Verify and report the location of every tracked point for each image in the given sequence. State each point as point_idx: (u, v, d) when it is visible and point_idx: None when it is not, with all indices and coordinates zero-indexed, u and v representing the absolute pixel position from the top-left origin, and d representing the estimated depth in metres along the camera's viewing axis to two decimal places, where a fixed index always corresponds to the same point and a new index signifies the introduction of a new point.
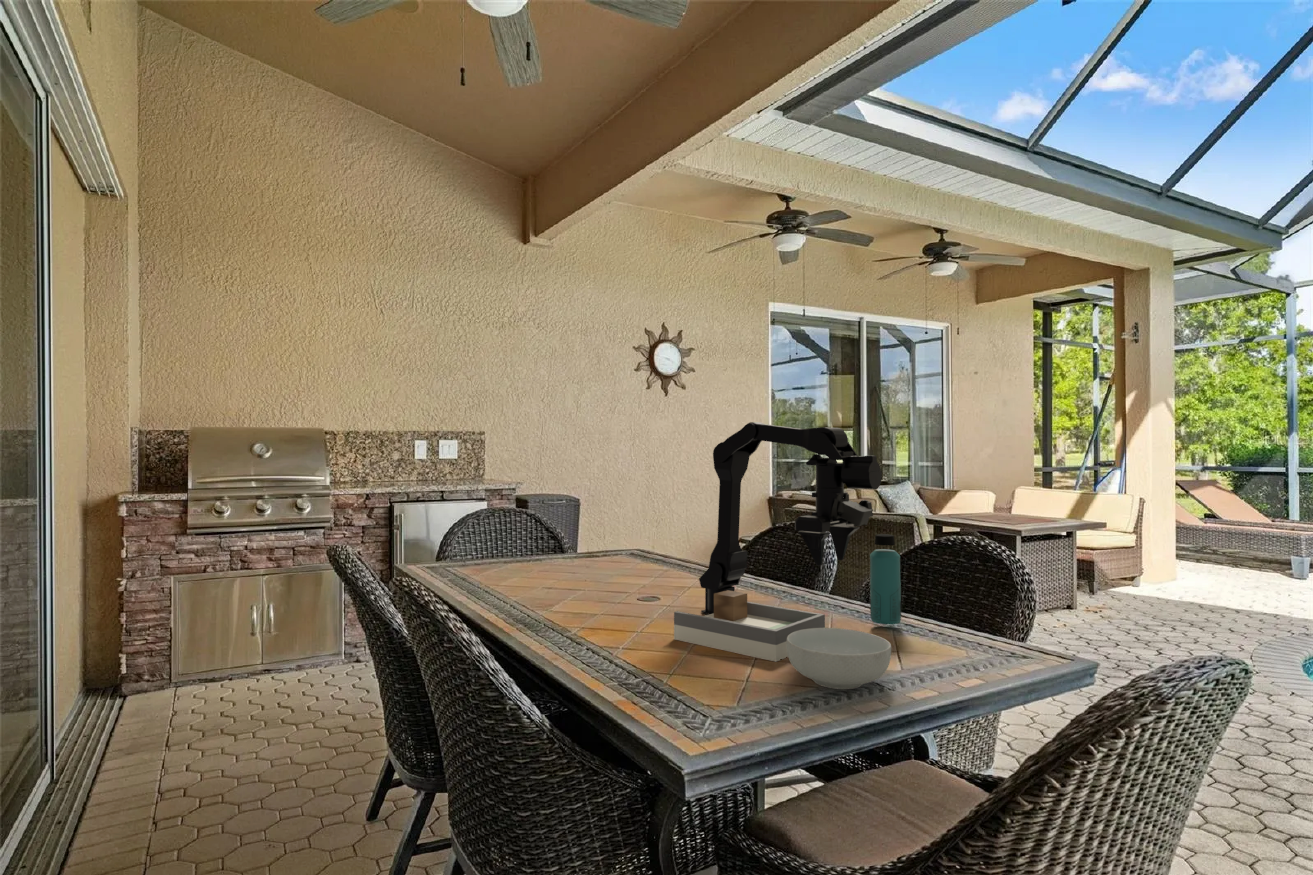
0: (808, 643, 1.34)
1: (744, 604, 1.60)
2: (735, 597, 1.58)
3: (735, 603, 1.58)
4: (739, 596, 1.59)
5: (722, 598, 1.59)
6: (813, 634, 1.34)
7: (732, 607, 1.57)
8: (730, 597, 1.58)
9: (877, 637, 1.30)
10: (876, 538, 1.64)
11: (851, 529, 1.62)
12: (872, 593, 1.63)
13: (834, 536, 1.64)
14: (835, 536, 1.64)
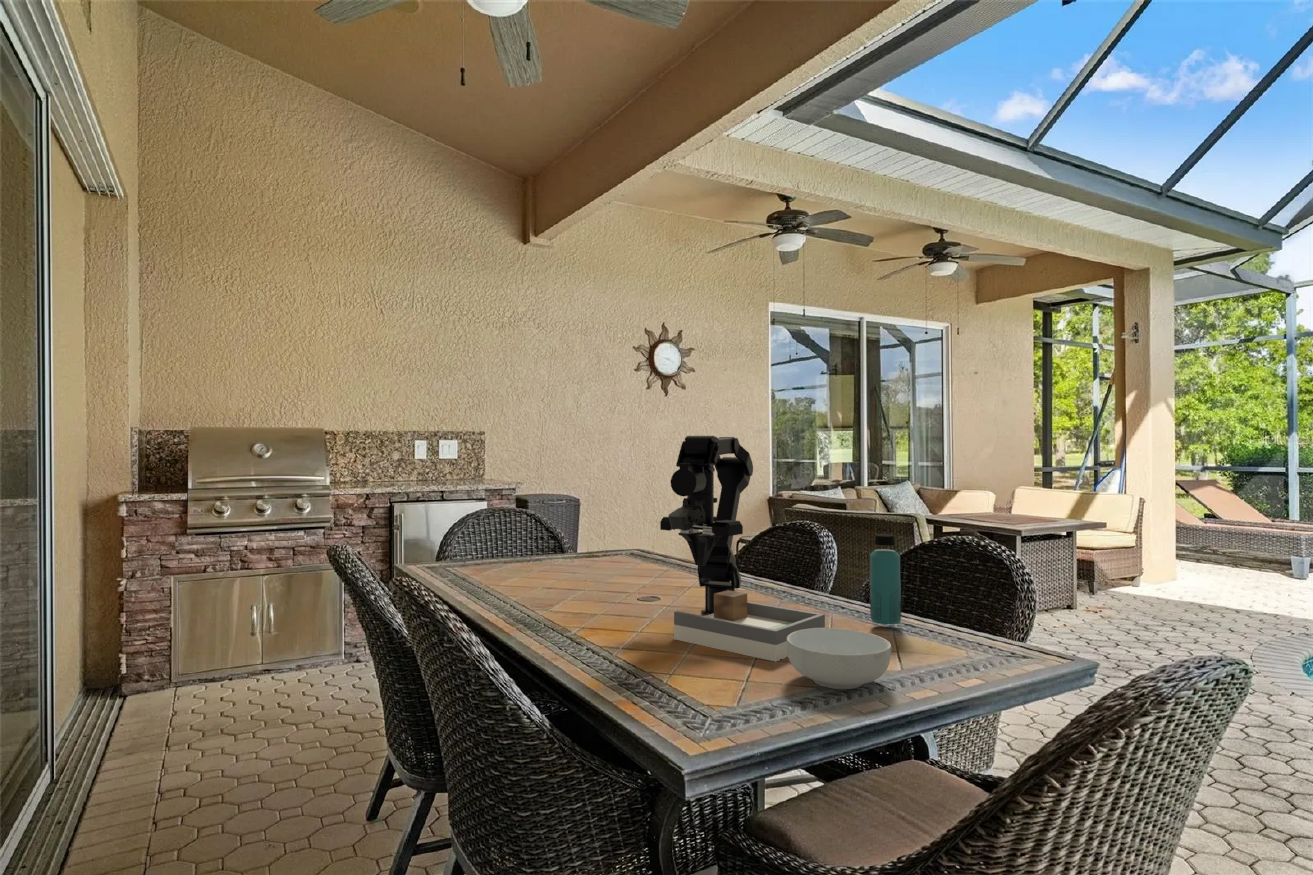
0: (808, 643, 1.34)
1: (744, 604, 1.60)
2: (735, 597, 1.58)
3: (735, 603, 1.58)
4: (739, 596, 1.59)
5: (722, 598, 1.59)
6: (813, 634, 1.34)
7: (732, 607, 1.57)
8: (730, 597, 1.58)
9: (877, 637, 1.30)
10: (876, 538, 1.64)
11: None
12: (872, 593, 1.63)
13: None
14: None
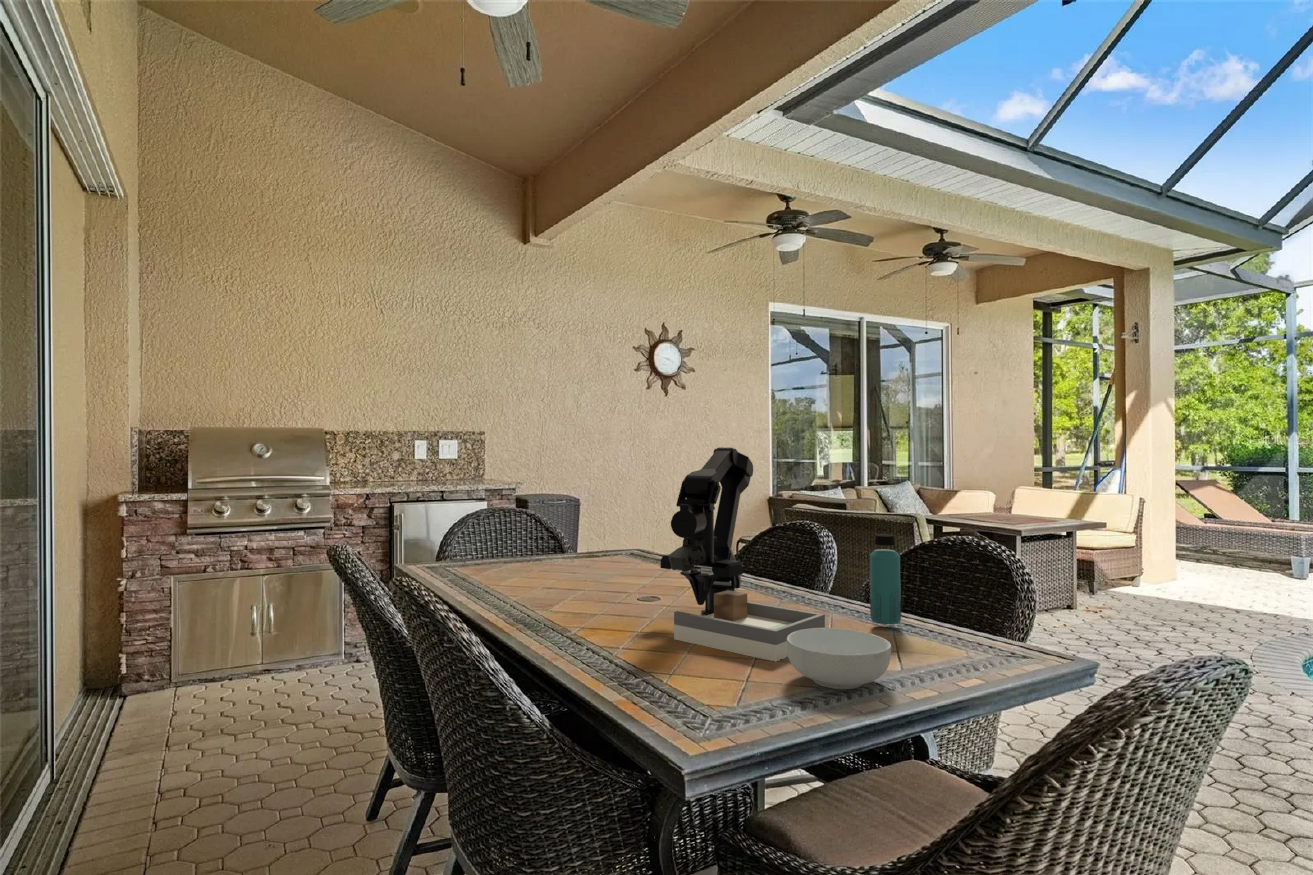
0: (808, 643, 1.34)
1: (744, 604, 1.60)
2: (735, 597, 1.58)
3: (735, 603, 1.58)
4: (739, 596, 1.59)
5: (722, 598, 1.59)
6: (813, 634, 1.34)
7: (732, 607, 1.57)
8: (730, 597, 1.58)
9: (877, 637, 1.30)
10: (876, 538, 1.64)
11: None
12: (872, 593, 1.63)
13: None
14: None
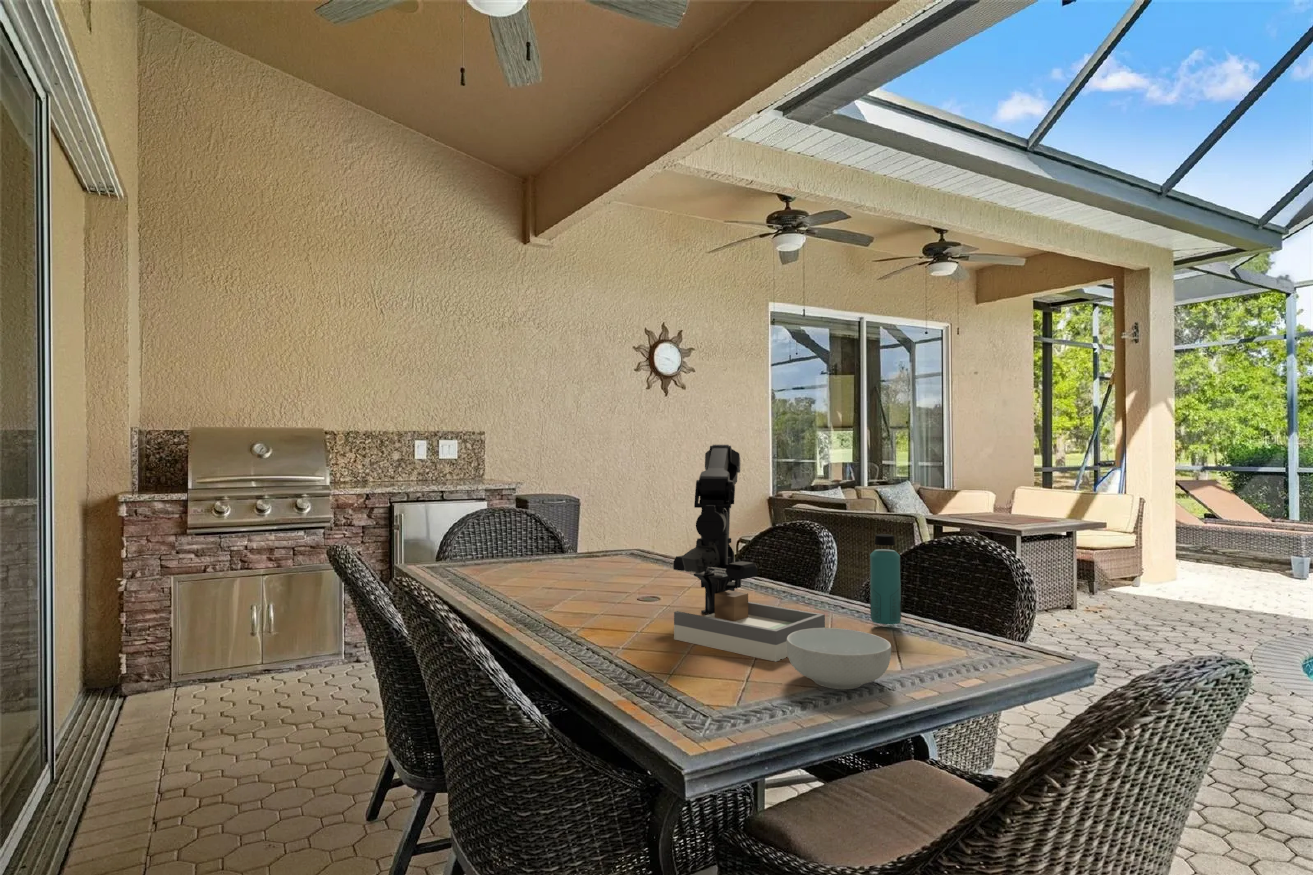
0: (808, 643, 1.34)
1: (745, 604, 1.60)
2: (736, 597, 1.57)
3: (736, 603, 1.57)
4: (740, 596, 1.59)
5: (723, 598, 1.59)
6: (813, 634, 1.34)
7: (733, 607, 1.57)
8: (731, 597, 1.57)
9: (877, 637, 1.30)
10: (876, 538, 1.64)
11: None
12: (872, 593, 1.63)
13: None
14: None
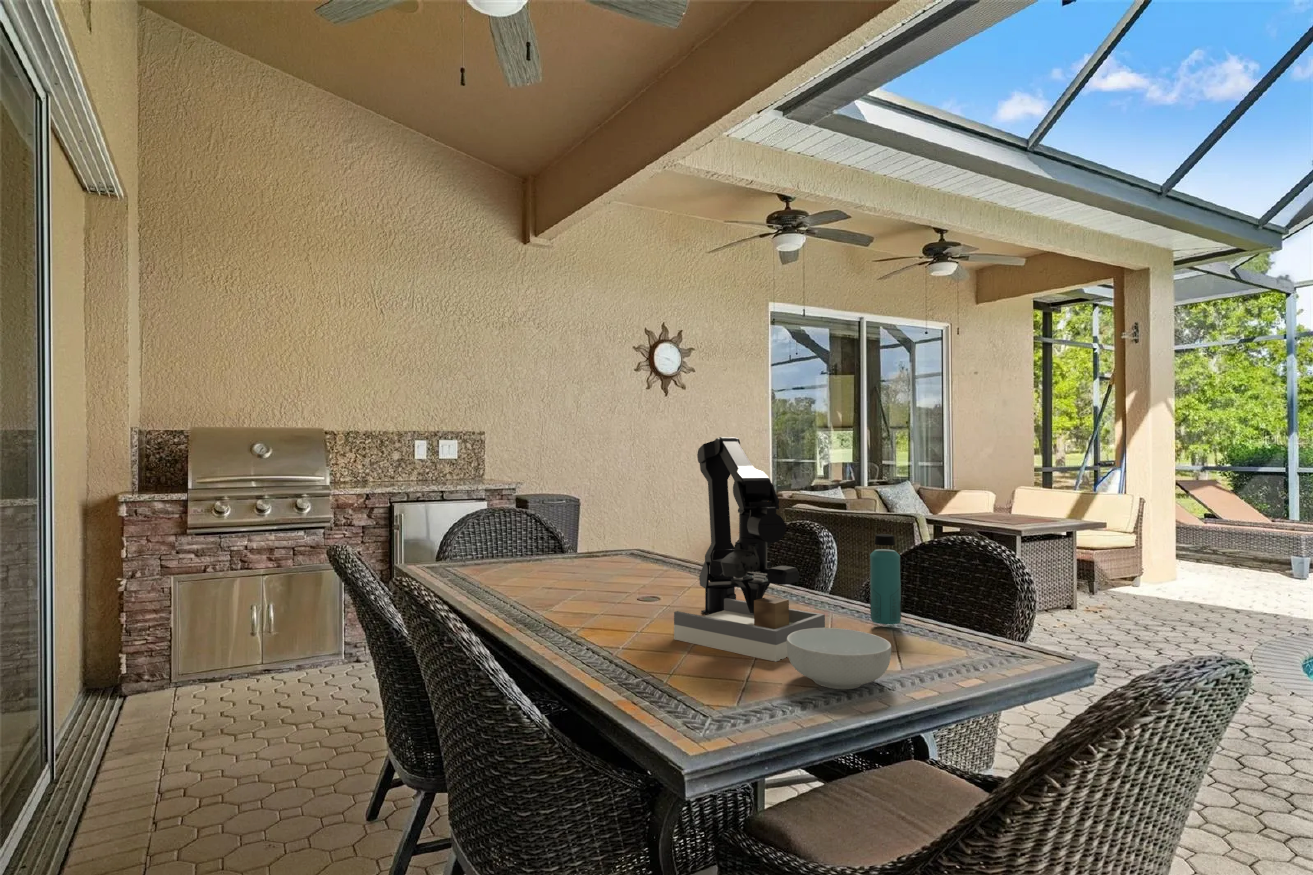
0: (808, 643, 1.34)
1: (786, 611, 1.53)
2: (777, 604, 1.51)
3: (777, 610, 1.51)
4: (781, 603, 1.52)
5: (763, 605, 1.52)
6: (813, 634, 1.34)
7: (774, 614, 1.50)
8: (772, 604, 1.51)
9: (877, 637, 1.30)
10: (876, 538, 1.64)
11: None
12: (872, 593, 1.63)
13: None
14: None
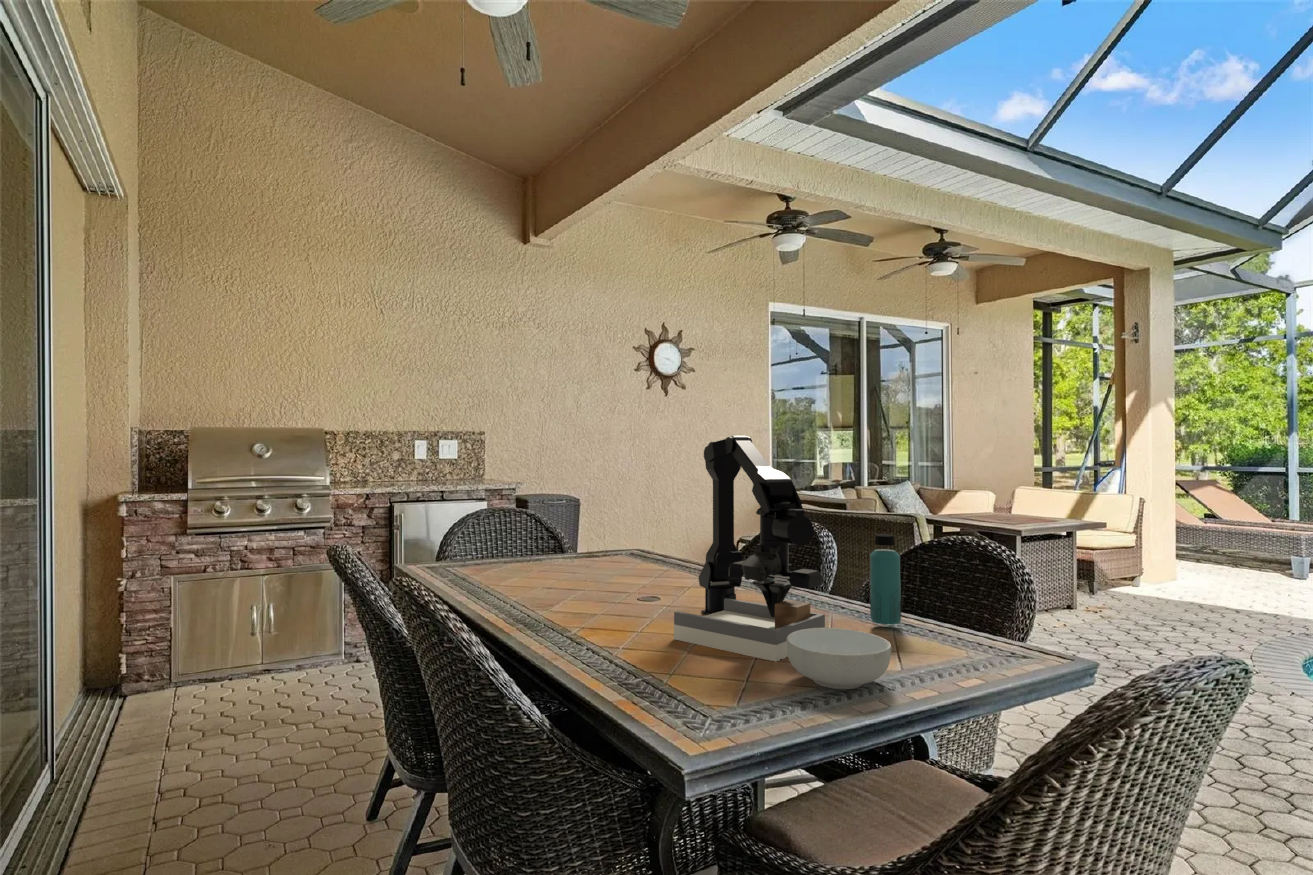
0: (808, 643, 1.34)
1: (807, 615, 1.50)
2: (799, 608, 1.48)
3: (798, 614, 1.48)
4: (802, 606, 1.49)
5: (785, 608, 1.49)
6: (813, 634, 1.34)
7: (795, 618, 1.47)
8: (793, 608, 1.48)
9: (877, 637, 1.30)
10: (876, 538, 1.64)
11: None
12: (872, 593, 1.63)
13: None
14: None
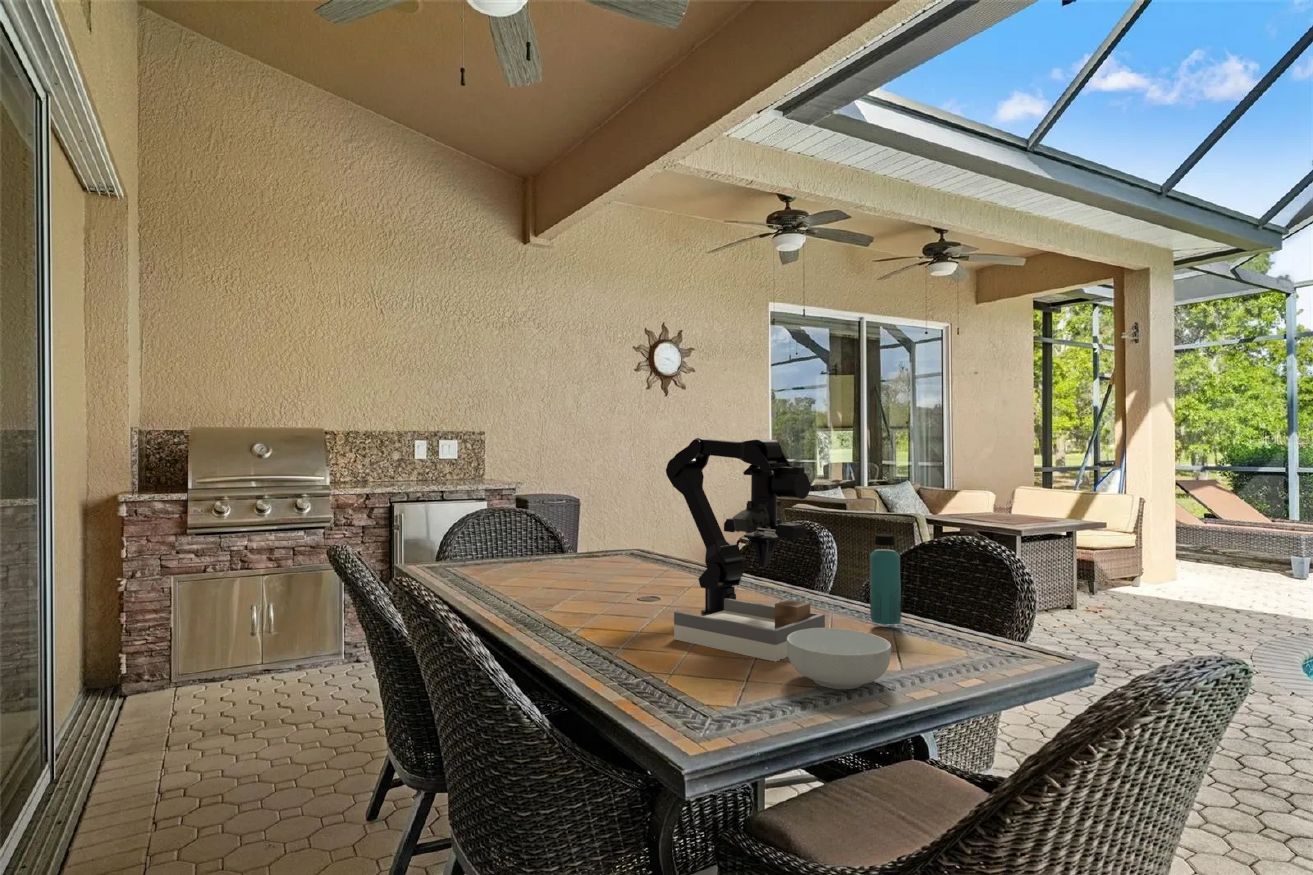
0: (808, 643, 1.34)
1: (807, 615, 1.50)
2: (798, 608, 1.48)
3: (798, 614, 1.48)
4: (802, 606, 1.49)
5: (785, 608, 1.49)
6: (813, 634, 1.34)
7: (795, 618, 1.47)
8: (793, 608, 1.48)
9: (877, 637, 1.30)
10: (876, 538, 1.64)
11: None
12: (872, 593, 1.63)
13: None
14: None
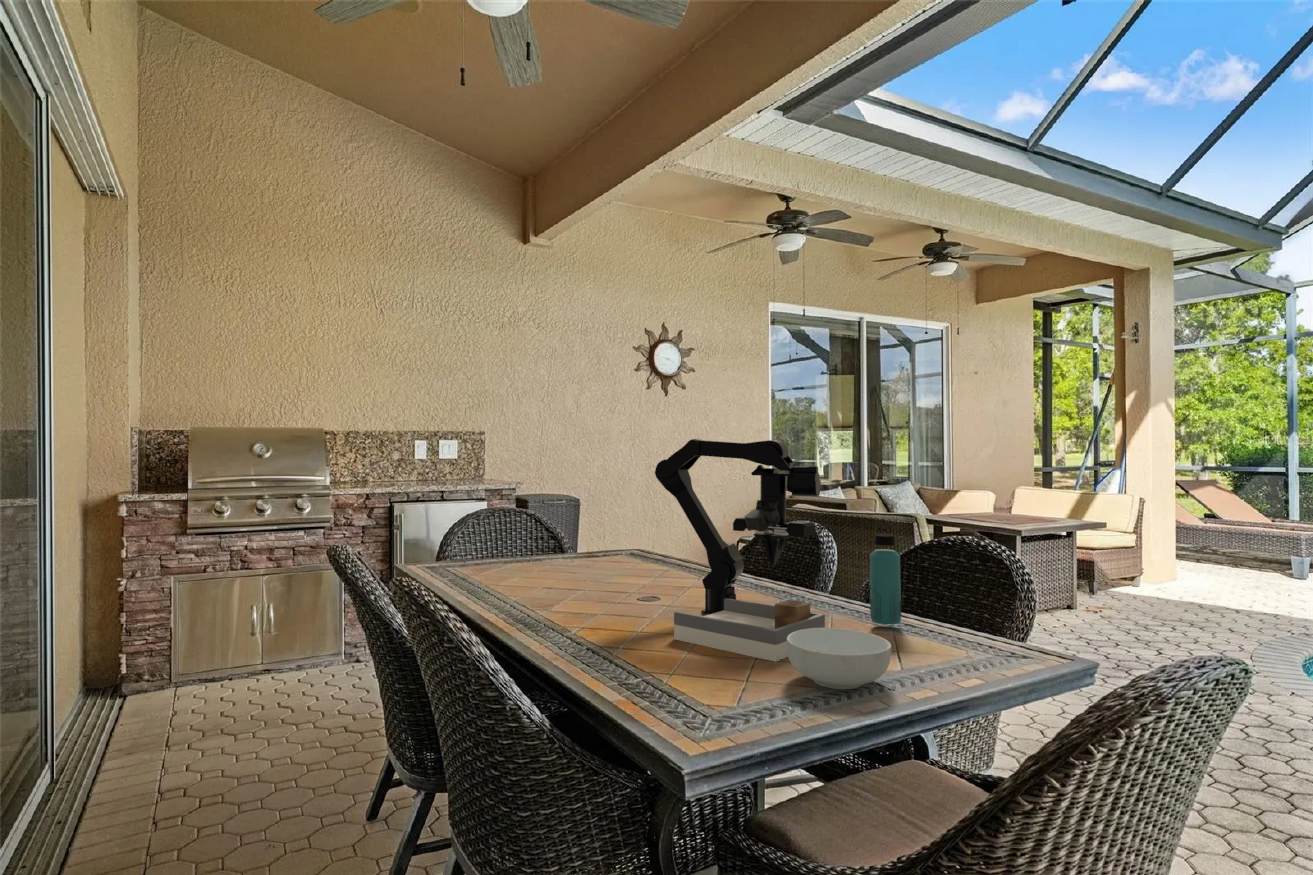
0: (808, 643, 1.34)
1: (807, 615, 1.50)
2: (798, 608, 1.48)
3: (798, 614, 1.48)
4: (802, 606, 1.49)
5: (785, 608, 1.49)
6: (813, 634, 1.34)
7: (795, 618, 1.47)
8: (793, 608, 1.48)
9: (877, 637, 1.30)
10: (876, 538, 1.64)
11: None
12: (872, 593, 1.63)
13: None
14: None
